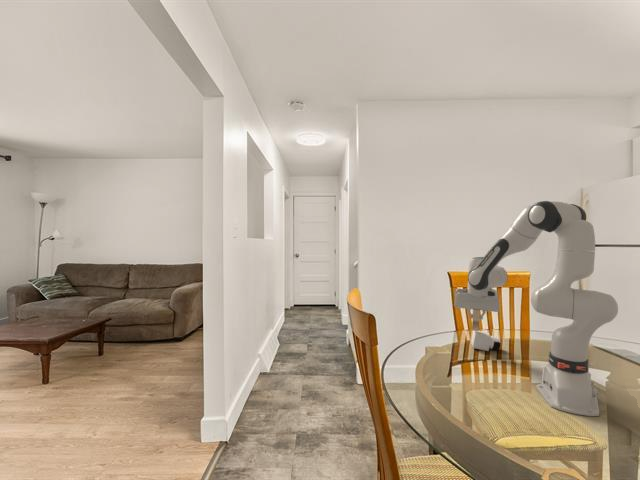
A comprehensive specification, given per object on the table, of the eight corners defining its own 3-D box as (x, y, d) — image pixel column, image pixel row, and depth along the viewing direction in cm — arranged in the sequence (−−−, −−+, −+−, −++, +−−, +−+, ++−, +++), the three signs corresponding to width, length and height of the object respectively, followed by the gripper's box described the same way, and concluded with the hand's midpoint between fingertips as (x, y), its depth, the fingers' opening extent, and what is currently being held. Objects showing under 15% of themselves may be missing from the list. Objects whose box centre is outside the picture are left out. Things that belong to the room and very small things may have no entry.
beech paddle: (479, 331, 175) (480, 297, 174) (472, 330, 176) (473, 297, 175) (478, 327, 181) (480, 295, 179) (472, 326, 182) (473, 294, 181)
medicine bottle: (470, 342, 183) (496, 348, 180) (472, 348, 177) (499, 353, 174) (473, 329, 183) (499, 334, 180) (475, 333, 176) (502, 339, 173)
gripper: (454, 289, 178) (452, 317, 179) (501, 293, 170) (499, 323, 171) (454, 286, 184) (453, 314, 185) (500, 290, 176) (498, 319, 177)
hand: (476, 318), depth 178 cm, fingers closed on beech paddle, 3 cm apart
